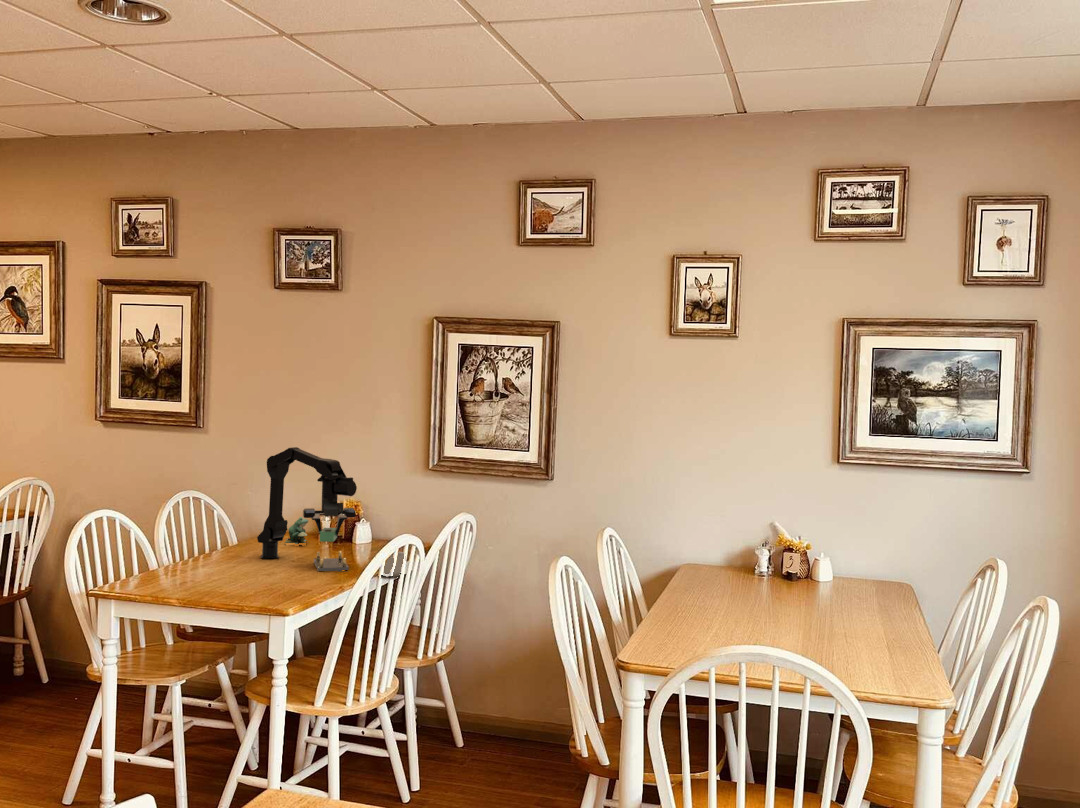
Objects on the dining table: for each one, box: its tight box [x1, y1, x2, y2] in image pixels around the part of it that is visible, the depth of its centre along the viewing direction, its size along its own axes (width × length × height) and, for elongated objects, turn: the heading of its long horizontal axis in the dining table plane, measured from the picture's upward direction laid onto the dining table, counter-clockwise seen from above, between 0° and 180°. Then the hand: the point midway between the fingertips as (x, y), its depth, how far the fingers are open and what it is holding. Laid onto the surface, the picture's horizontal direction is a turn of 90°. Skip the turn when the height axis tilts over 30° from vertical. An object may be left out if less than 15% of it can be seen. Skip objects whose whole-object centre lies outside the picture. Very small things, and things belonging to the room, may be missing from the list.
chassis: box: [313, 550, 350, 572], centre depth 359 cm, size 17×11×4 cm, turn 18°
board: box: [319, 527, 338, 543], centre depth 358 cm, size 10×5×4 cm, turn 5°
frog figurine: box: [284, 516, 309, 544], centre depth 401 cm, size 18×18×12 cm
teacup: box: [374, 551, 405, 578], centre depth 350 cm, size 14×11×8 cm
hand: (328, 536), depth 358 cm, fingers closed on board, 5 cm apart
